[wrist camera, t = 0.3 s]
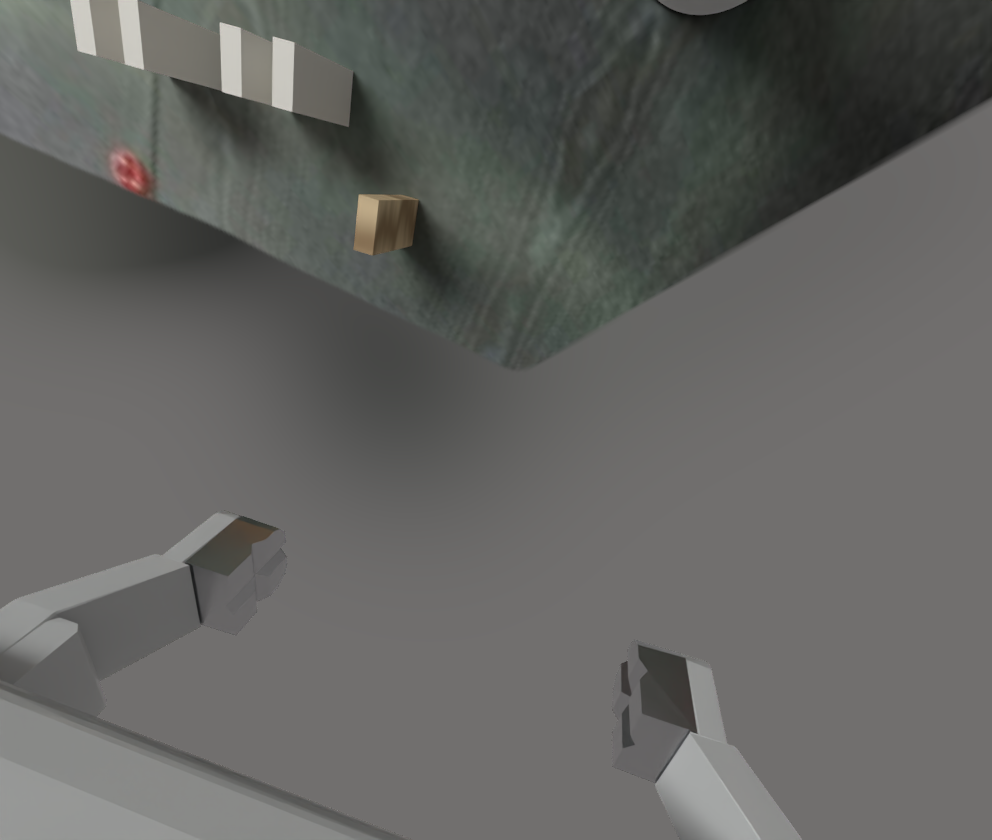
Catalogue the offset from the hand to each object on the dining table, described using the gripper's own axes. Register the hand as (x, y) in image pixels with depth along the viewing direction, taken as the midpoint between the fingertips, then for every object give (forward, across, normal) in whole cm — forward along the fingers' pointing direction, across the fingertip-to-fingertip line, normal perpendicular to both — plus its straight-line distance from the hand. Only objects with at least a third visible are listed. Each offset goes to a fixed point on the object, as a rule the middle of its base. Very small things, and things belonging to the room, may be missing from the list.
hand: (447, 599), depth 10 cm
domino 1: (+46, +49, -14) cm, 69 cm away
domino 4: (+46, +29, -13) cm, 56 cm away
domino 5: (+46, +21, -2) cm, 51 cm away
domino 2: (+46, +44, -14) cm, 65 cm away
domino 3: (+46, +34, -13) cm, 59 cm away
